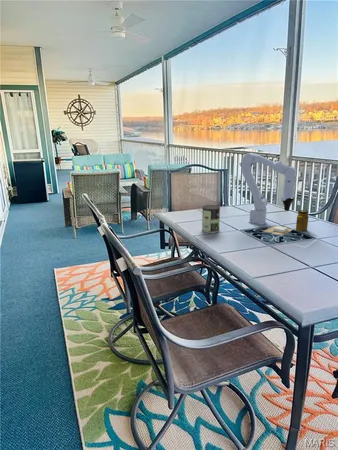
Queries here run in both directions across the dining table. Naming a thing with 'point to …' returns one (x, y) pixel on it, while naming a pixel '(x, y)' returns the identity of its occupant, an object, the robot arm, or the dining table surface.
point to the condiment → (302, 221)
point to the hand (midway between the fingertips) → (286, 210)
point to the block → (280, 229)
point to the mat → (276, 231)
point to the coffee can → (210, 218)
